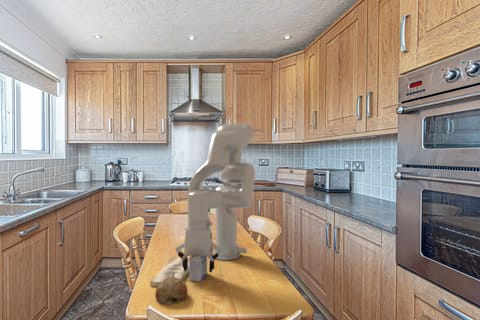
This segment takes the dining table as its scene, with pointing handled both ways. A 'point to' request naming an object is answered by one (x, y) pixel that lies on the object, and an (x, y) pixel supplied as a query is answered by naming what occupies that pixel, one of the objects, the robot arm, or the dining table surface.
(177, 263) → the board
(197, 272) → the medicine box
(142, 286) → the dining table surface
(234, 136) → the robot arm
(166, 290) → the bread roll
